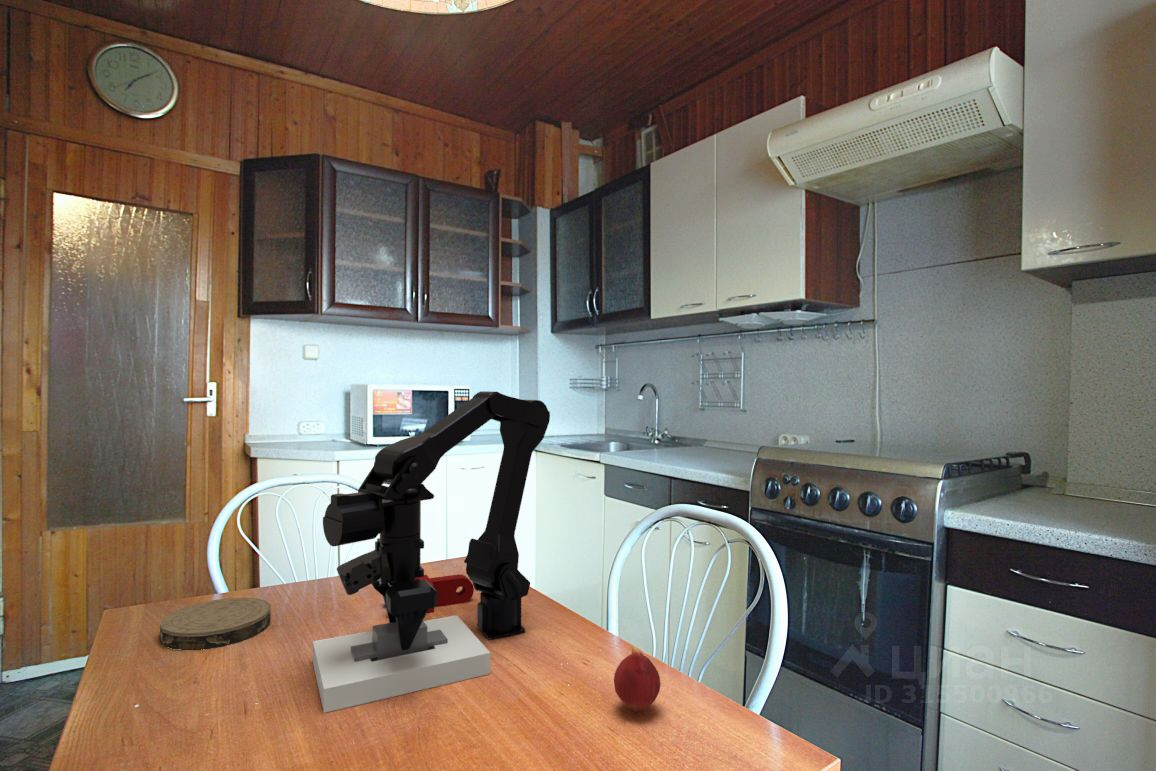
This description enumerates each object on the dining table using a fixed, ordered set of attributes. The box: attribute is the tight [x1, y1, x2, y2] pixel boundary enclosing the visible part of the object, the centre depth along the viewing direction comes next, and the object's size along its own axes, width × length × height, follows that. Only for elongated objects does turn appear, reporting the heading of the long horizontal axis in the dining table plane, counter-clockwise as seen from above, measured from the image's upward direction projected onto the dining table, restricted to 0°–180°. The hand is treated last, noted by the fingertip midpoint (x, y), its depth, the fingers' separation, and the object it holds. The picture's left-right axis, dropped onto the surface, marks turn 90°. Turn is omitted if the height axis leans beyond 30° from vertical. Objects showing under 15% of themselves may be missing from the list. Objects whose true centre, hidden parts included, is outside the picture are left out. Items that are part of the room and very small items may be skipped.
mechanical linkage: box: [414, 573, 475, 614], centre depth 113 cm, size 16×7×5 cm, turn 115°
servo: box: [351, 620, 448, 662], centre depth 88 cm, size 13×4×7 cm, turn 118°
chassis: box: [312, 615, 491, 714], centre depth 88 cm, size 22×16×3 cm
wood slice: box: [159, 596, 272, 651], centre depth 101 cm, size 16×16×3 cm
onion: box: [613, 646, 661, 713], centre depth 76 cm, size 6×6×8 cm
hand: (400, 640), depth 88 cm, fingers open, 7 cm apart
